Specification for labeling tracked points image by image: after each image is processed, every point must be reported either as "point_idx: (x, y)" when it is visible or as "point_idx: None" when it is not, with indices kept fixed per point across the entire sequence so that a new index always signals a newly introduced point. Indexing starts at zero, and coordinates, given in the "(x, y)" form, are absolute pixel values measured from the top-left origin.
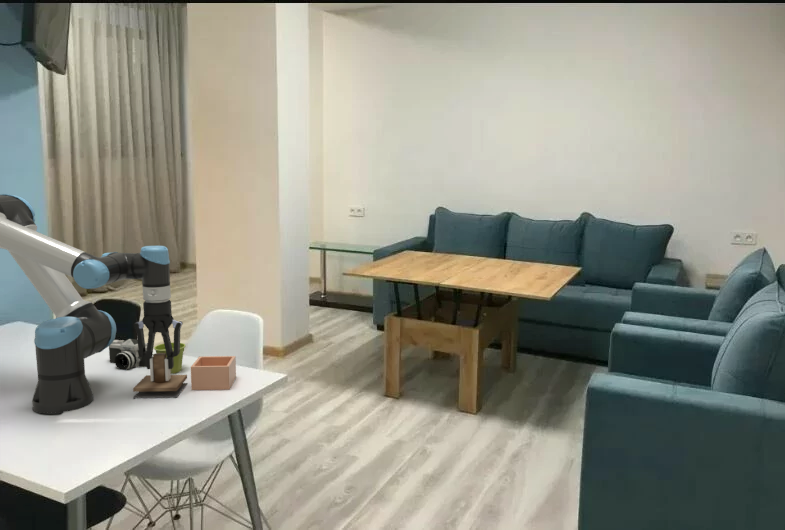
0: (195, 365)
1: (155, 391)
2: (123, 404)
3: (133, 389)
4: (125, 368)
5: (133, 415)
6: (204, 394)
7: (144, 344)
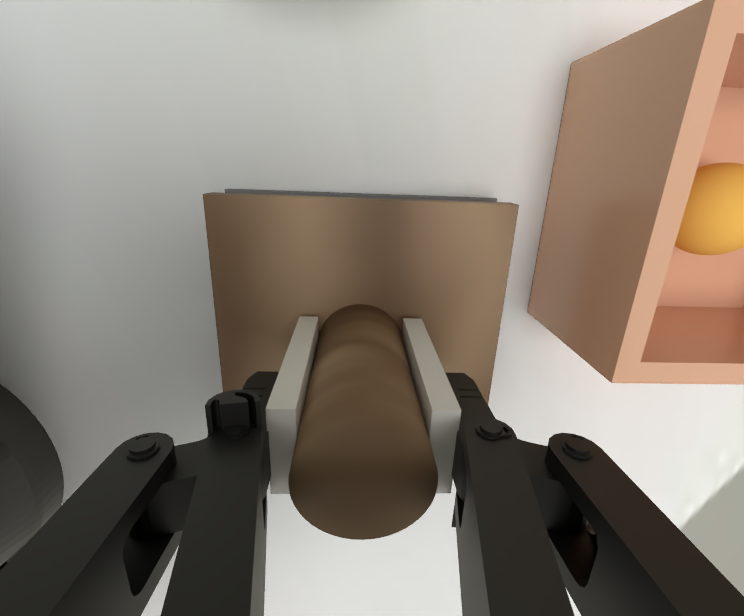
0: (647, 308)
1: None
2: None
3: None
4: None
5: (325, 590)
6: (597, 380)
7: (98, 579)
